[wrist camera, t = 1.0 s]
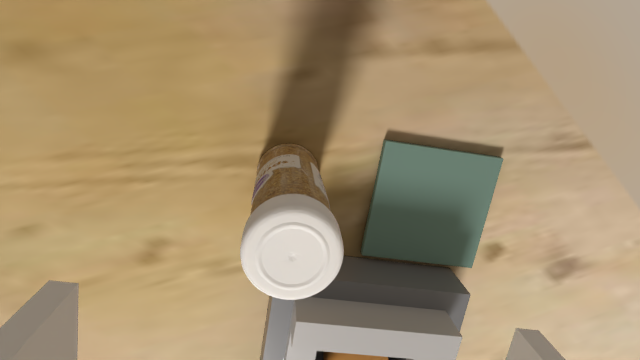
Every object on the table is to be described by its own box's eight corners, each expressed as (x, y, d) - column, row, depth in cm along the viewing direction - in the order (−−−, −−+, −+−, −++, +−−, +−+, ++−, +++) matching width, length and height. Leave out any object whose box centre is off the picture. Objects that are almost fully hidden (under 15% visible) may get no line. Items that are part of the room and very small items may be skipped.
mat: (360, 251, 34) (361, 255, 33) (383, 139, 31) (385, 141, 31) (468, 264, 35) (471, 267, 34) (499, 156, 32) (503, 158, 32)
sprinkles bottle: (266, 134, 30) (255, 194, 17) (327, 152, 31) (360, 223, 18) (249, 193, 31) (226, 290, 19) (308, 209, 32) (326, 314, 19)
